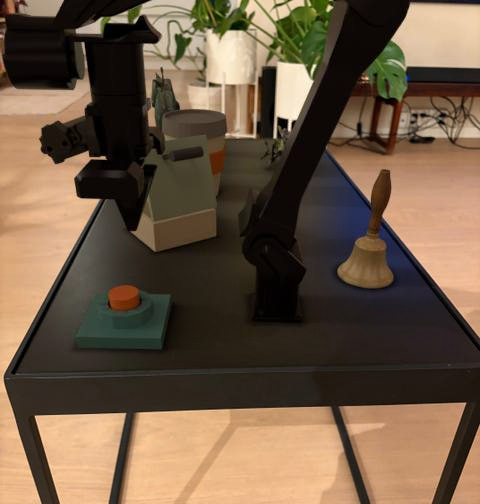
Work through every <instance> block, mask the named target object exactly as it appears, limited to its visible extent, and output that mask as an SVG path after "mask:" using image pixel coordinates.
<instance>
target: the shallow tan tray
mask: <svg viewBox="0 0 480 504" xmlns="http://www.w3.org/2000/svg"><path fill="white" fill-rule="evenodd" d="M129 232H130V233H131V234H132V235H134V236H135V237H136V238H137V239H139V240H140V241H141V242H142V243H144V244H145V246H147V247H148V248H150V249H151V250H152V251H153V252H154V253H159V252H163V251H165V250H170V249H173V248H177V247H180V246H185V245H189V244H192V243H196V242H200V241H203V240H208V239H211V238H214V237H215V238H216V237H217V209H216V208H212V209H207V210H203V211H199V212H194V213H190V214H186V215H182V216H177V217H173V218H169V219H164V220H160V221H156V222H152V219H151V214H150V209H149V204H148V199H147V201H146V204H145V207H144V210H143V213H142V216H141V220H140V223H139V226H138V229H137V231H129Z"/></svg>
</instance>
